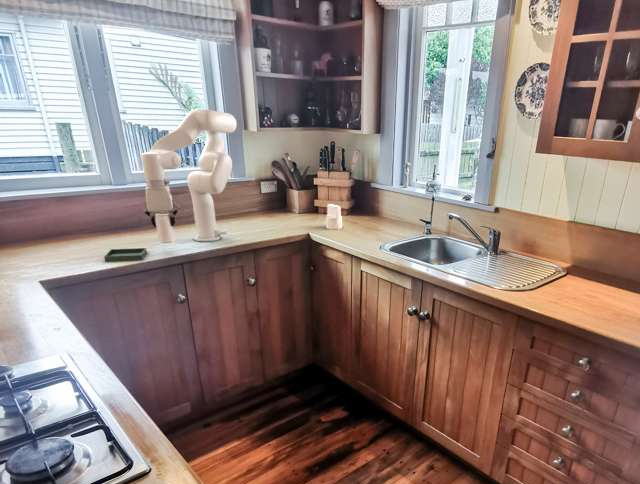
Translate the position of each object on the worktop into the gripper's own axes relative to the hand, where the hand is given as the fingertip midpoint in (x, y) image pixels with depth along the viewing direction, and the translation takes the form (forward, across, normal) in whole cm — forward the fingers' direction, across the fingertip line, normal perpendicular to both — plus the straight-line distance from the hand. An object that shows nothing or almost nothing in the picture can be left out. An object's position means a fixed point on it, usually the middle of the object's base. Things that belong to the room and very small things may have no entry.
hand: (164, 225), depth 203 cm
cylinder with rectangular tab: (+14, -81, -35) cm, 90 cm away
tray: (+11, +16, +8) cm, 21 cm away
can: (+7, 0, 0) cm, 7 cm away
